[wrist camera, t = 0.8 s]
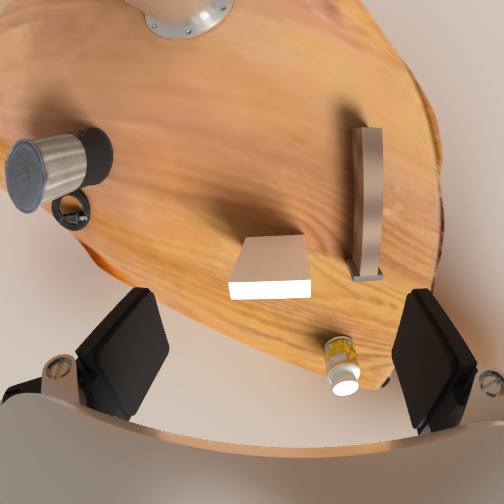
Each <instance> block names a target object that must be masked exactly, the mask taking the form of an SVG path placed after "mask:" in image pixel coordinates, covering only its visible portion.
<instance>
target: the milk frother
mask: <svg viewBox="0 0 504 504" xmlns="http://www.w3.org/2000/svg"><path fill="white" fill-rule="evenodd" d="M112 162H113V149H112V145H111V142H110V140H109V138H108V137H107V135H106V134H105V133H104V132H103V131H101V130H99V129H96V128H90V129H86V130H83V131H79V132H72V133H66V134H59V135H53V136H48V137H42V138H37V139H32V140H28V139H21V140H19V141H17V142H16V143H15V144H14V145H13V146H12V148H11V150H10V151H9V154H8V157H7V160H6V162H5V179H6V186H7V190H8V193H9V196H10V198H11V200H12V202H13V204H14V205H15V206H16V208H17V209H19V210H20V211H21V212H23V213H27V214H28V213H33V212H34V211H35V210H37V208H38V207H39V206H41V205H43V204H45V203H48V202H50V201H52V200H53V201H52V213H53V216H54V217H55V219H56V220H57V221H58V223H60V225H62V226H63V227H65V228H66V229H68V230H72V231H78V230H81V229H83V228H84V227H85V226H86V225H87V224H88V222H89V219H90V206H89V202H88V200H87V198H86V197H85V196H84V194H83V193H81V192H80V191H78V190H77V189H80V188H83V187H86V186H89V185H96V184H99V183H101V182H102V181H103V180H104V179H105V178H106V177H107V176H108V174H109V172H110V170H111V167H112ZM67 195H71V196H74V197H75V198H77V199H78V200H79V201H80V203H81V204H82V206H83V210H84V215H82V211H79V212H77V213H73V214H72V213H69V214H62V213H61V211H60V209H59V204H60V202H61V200H62V198H63V197H64V196H67ZM70 222H76V224H75V223H70Z"/></svg>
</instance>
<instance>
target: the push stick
mask: <svg viewBox="0 0 504 504" xmlns="http://www.w3.org/2000/svg"><path fill="white" fill-rule="evenodd" d="M351 133H352V149H353V173H354V229H353V254H352V259H347V266H348V269H349V271H350V274H351V277H352V279H353V282H362V281H377V280H382V279H383V274H382V272H381V270H380V268H379V267H378V266H379V256H380V245H381V232H382V214H383V142H382V128H370V127H356V128H351Z"/></svg>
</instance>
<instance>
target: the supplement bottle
mask: <svg viewBox="0 0 504 504" xmlns="http://www.w3.org/2000/svg"><path fill="white" fill-rule="evenodd" d="M324 352H325V360H326V370H327V378H328V381H329V382H330V383H331V384H332V388H333V392H334V393H335V394H337V395H349V394H351V393H353V392H355V391H356V390H357V389H358V377H359V375H360V368H359V364H358V359H357V355H356V350H355V346H354V342H353V341H352V340H351V339H350V338H348V337H345V336H338V337H334V338H332V339H330V340H329V341H328V342H327V343H326V345H325V348H324Z"/></svg>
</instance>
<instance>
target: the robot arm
mask: <svg viewBox="0 0 504 504" xmlns="http://www.w3.org/2000/svg"><path fill="white" fill-rule="evenodd" d="M124 1H126V2H127V3H129V4H131V5H132V6H134V7H135V8H137V9H139V10H140V11H142V12H143V13H145V21H146V23H147V26H148V27H149V28H150V30H151V31H152V32H154V33H155V34H157V35H158V36H160V37H162V38H166V39H170V40H185V39H189V38H194V37H197V36H199V35H202V34H204V33H206V32H208V31H210V30H211V29H213V28H214V27H216V26H217V25H218V24H220V23H221V22H222V21H223V20H224V19H225V17H226V16H227V15H228V14H229V12H230V10H231V8H232V6H233V2H234V0H124ZM223 9H225V10H223ZM190 32H191V33H190ZM189 33H190V34H189ZM75 352H76V354H77V356H78V358H77V360H75V359H74V358H73V356H70V355H66V354H63V355H58V356H56V357H54V358H52V359H50V360H49V361H48V362H47V363H46V365H45V366H44V368H43V372H42V377H40V378H36V379H33V380H30V381H27V382H24V383H20V384H17V385H14V386H11V387H9V388H8V389H7V390H6V392H5V394H4V396H3V399H2V402H1V400H0V504H504V373H503V372H502V371H500V370H498V369H497V368H493V367H484V368H482V369H480V370H479V371H478V370H477V368H476V365H477V361H476V360H475V358H474V356H473V355H472V353H471V351H470V350H469V348H468V346H467V345H466V343H465V341H464V340H463V338H462V337H461V335H460V334H459V332H458V331H457V329H456V328H455V326H454V324H453V323H452V322H451V320H450V319H449V317H448V316H447V314H446V313H445V312H444V310H443V308H442V307H441V306H440V304H439V303H438V302H437V300H436V299H435V297H434V296H433V295H432V293H431V292H430V291H429V289H427V288H423V289H413V290H412V291H411V293H409V294H408V295H407V297H406V301H405V306H404V310H403V314H402V317H401V321H400V325H399V328H398V332H397V335H396V339H395V342H394V345H393V348H392V360H393V363H394V366H395V369H396V372H397V375H398V378H399V381H400V384H401V388H402V391H403V394H404V398H405V401H406V405H407V408H408V412H409V415H410V419H411V423H412V426H413V428H414V429H416V428H417V432H418V436H414V437H410V438H404V439H398V440H393V441H386V442H379V443H372V444H364V445H355V446H342V447H325V448H278V447H261V446H248V445H238V444H230V443H223V442H215V441H209V440H203V439H197V438H193V437H187V436H183V435H178V434H173V433H169V432H165V431H161V430H157V429H153V428H149V427H146V426H142V425H138V424H135V423H132V422H129V419H130V418H131V416H133V415H135V414H136V412H137V411H138V409H139V407H140V405H141V403H142V401H143V399H144V397H145V395H146V394H147V392H148V390H149V388H150V386H151V384H152V383H153V381H154V379H155V377H156V375H157V373H158V371H159V370H160V368H161V366H162V364H163V362H164V360H165V359H166V357H167V355H168V353H169V344H168V341H167V338H166V334H165V331H164V328H163V325H162V321H161V317H160V314H159V310H158V307H157V303H156V299H155V296H154V294H153V292H151V291H150V290H149V289H148V288H140V287H134V288H133V289H132V290H131V291H130V292H129V293H128V294H127V295H126V296H125V297H124V298H123V299H122V300H121V301H120V302H119V303H118V304H117V305H116V307H115V308H114V309H113V310H112V311H111V312H110V313H109V314H108V315H107V316H106V317H105V318H104V319H103V321H102V322H101V323H100V324H99V325H98V326H97V327H96V328H95V329H94V330H93V331H92V333H91V334H90V335H89V336H88V337H87V338H86V339H85V340H84V342H83V343H82V344H81V345H80V346H79V348H77V350H76V351H75Z"/></svg>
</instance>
